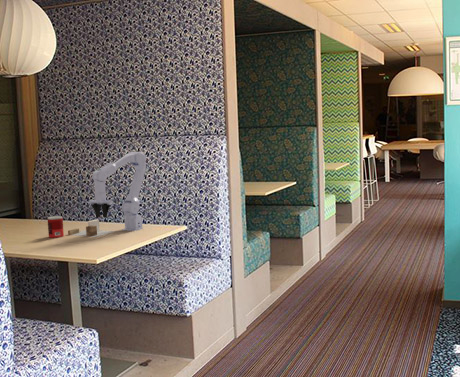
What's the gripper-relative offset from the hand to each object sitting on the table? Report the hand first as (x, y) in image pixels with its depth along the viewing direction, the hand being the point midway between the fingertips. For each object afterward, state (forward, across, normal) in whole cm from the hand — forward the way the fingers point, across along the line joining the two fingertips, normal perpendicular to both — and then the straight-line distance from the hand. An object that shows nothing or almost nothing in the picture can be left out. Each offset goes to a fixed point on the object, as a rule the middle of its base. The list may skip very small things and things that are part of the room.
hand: (101, 217), depth 338 cm
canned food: (+10, -20, -15) cm, 26 cm away
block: (+9, -2, -6) cm, 11 cm away
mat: (+9, -8, 0) cm, 12 cm away
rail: (+9, -16, -6) cm, 19 cm away
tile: (+9, -6, 0) cm, 11 cm away
